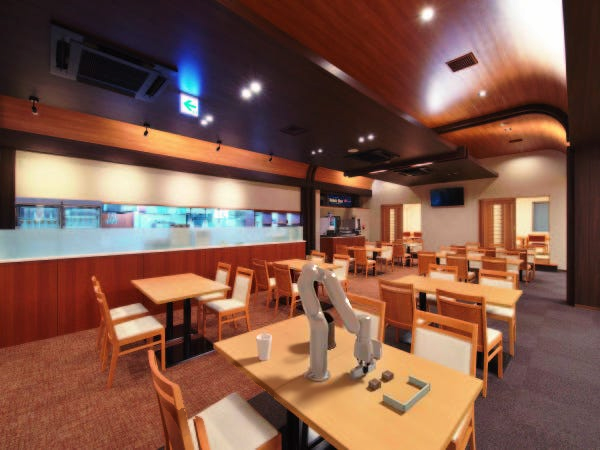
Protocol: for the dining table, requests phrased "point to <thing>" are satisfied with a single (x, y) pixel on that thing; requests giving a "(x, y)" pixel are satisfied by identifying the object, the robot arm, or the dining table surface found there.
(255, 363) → the dining table surface
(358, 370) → the long grey plank
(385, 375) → the small brown block
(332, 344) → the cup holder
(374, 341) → the pale brown block
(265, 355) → the foam cup
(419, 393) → the grey u-shaped bracket
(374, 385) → the crust left
